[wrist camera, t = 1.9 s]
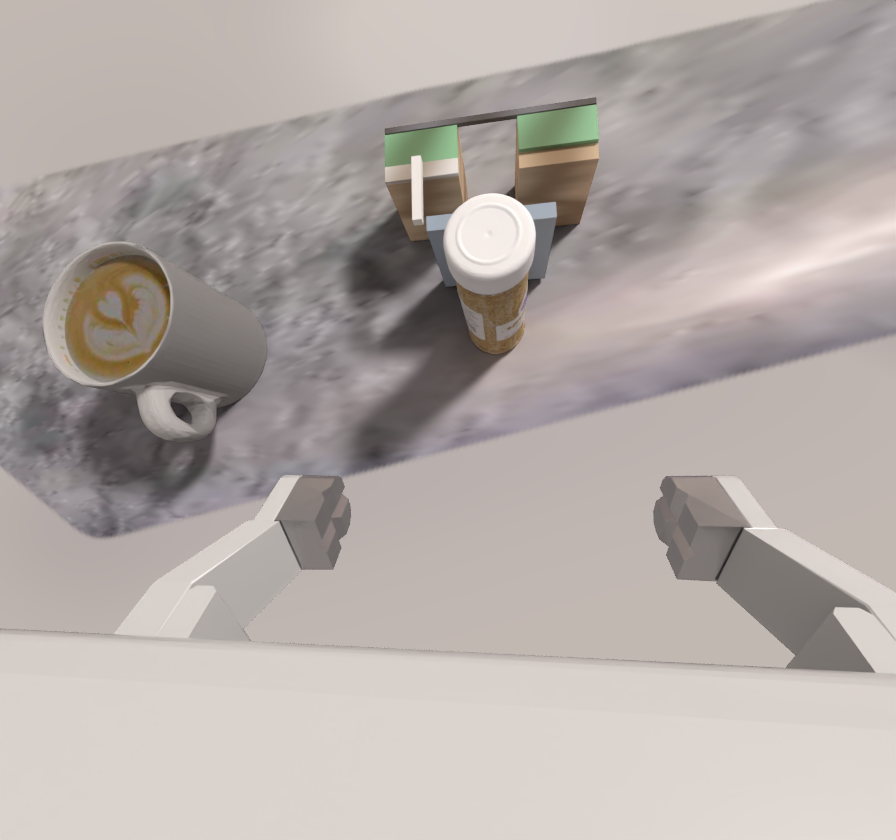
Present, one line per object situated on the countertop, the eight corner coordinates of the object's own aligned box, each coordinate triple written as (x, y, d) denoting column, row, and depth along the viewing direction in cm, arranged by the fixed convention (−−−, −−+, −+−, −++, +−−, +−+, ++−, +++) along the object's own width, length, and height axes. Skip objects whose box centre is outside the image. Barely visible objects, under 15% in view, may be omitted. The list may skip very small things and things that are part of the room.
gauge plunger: (541, 221, 32) (553, 137, 24) (544, 278, 32) (557, 211, 23) (435, 233, 34) (411, 156, 25) (436, 287, 33) (412, 227, 25)
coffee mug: (167, 308, 37) (44, 253, 27) (265, 293, 36) (173, 229, 26) (166, 451, 35) (36, 447, 26) (269, 441, 34) (173, 432, 24)
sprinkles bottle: (526, 352, 32) (540, 272, 18) (469, 357, 32) (443, 284, 19) (522, 297, 32) (532, 182, 19) (466, 303, 33) (438, 196, 20)
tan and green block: (576, 177, 33) (595, 97, 25) (579, 223, 32) (600, 154, 25) (410, 198, 35) (384, 128, 27) (410, 241, 34) (385, 182, 27)
